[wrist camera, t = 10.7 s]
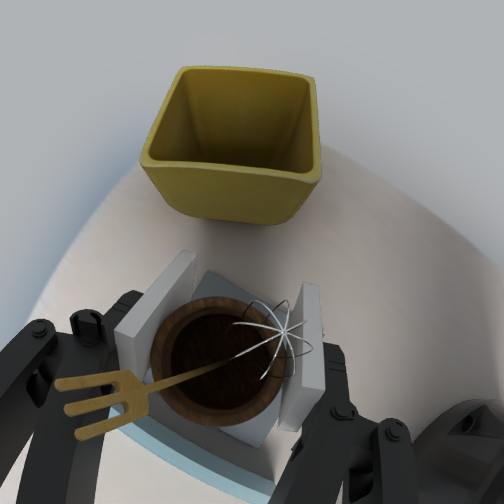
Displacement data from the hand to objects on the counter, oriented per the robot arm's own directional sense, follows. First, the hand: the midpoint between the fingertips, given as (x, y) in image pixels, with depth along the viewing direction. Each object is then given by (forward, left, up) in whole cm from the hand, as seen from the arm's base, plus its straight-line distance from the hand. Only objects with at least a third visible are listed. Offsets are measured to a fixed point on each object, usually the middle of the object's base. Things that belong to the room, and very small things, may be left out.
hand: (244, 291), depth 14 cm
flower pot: (+5, -8, -6) cm, 10 cm away
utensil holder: (-1, +4, -4) cm, 5 cm away
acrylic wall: (-1, +10, -5) cm, 12 cm away
